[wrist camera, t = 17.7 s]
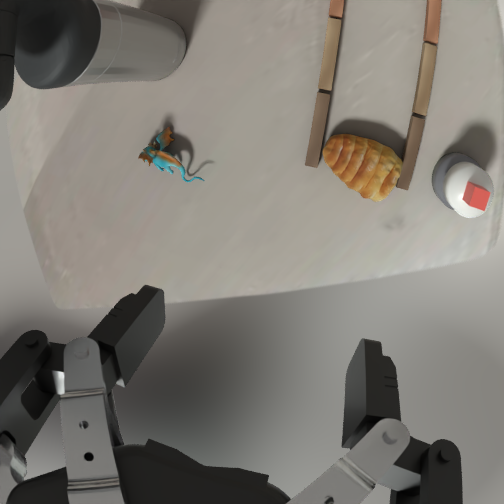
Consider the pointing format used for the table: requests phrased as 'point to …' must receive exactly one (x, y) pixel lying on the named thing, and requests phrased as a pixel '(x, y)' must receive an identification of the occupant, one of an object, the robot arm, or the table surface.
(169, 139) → the dragon figurine
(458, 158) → the button base
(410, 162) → the track
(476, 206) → the dome button
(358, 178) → the pastry
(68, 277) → the table surface
